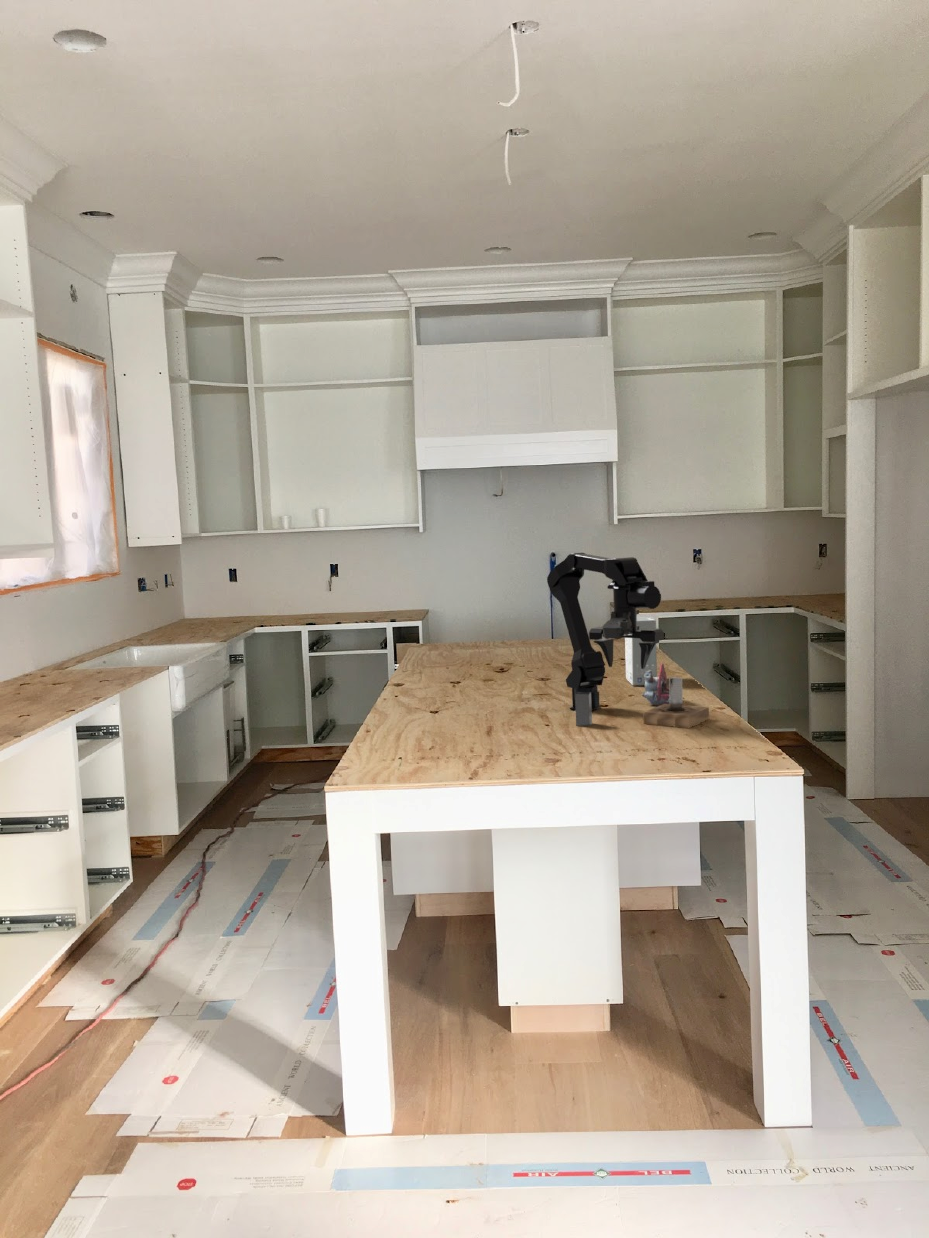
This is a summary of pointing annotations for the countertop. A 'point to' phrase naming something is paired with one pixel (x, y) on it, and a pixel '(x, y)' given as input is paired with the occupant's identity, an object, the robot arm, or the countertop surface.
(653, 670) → the hard drive box
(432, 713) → the countertop surface
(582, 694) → the square bit
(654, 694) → the brake caliper
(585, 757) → the countertop surface
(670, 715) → the bore block
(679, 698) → the round bit
